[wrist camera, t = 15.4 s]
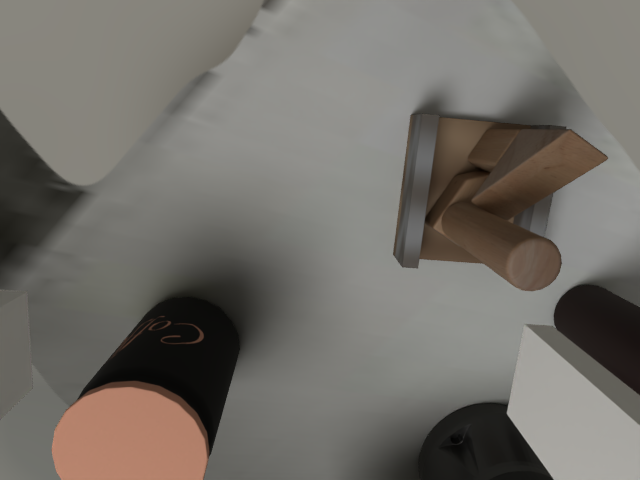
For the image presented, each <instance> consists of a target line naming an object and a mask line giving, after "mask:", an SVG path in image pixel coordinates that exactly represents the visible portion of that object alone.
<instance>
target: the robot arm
mask: <svg viewBox="0 0 640 480" xmlns="http://www.w3.org/2000/svg"><path fill="white" fill-rule="evenodd" d="M32 389H33V378H32V362H31V347H30V332H29V316H28V301H27V291H11V290H0V420H1V418H3V417H4V416H5V415H6V414H7V413H8V412H9V411H10V410H11V409H12V408H13V407H14V406H15V405H16V404H17V403H18V402H19V401H20V400H21V399H22V398H23V397H24V396H25V395H26V394H27V393H28V392H29V391H31V390H32ZM418 467H419V475H420V479H421V480H640V395H639V394H637V393H636V392H635V391H634V390H632V389H631V388H630V387H628V386H627V385H626V384H625V383H623V382H622V381H621V380H620V379H618V378H617V377H616V376H615V375H613V374H612V373H611V372H610V371H608V370H607V369H606V368H604V367H603V366H602V365H601V364H599V363H598V362H597V361H596V360H594V359H593V358H592V357H591V356H589V355H588V354H587V353H586V352H584V351H583V350H582V349H580V348H579V347H578V346H577V345H575V344H574V343H573V342H572V341H570V340H569V339H568V338H567V337H565V336H564V335H563V334H562V333H560V332H559V331H558V330H557V329H555V328H554V327H553V326H546V325H531V324H525V325H524V330H523V335H522V340H521V345H520V350H519V355H518V360H517V365H516V370H515V375H514V380H513V385H512V390H511V394H510V399H509V404H508V406H506V405H501V404H478V405H473V406H469V407H466V408H463V409H461V410H458V411H456V412H454V413H452V414H451V415H449V416H447V417H446V418H445V419H443V420H442V421H441V422H440V423H438V424H437V425H436V426H435V427H434V429H433V430H432V431H431V432H430V434H429V435H428V436H427V438H426V440H425V442H424V444H423V446H422V449H421V452H420V456H419V466H418Z"/></svg>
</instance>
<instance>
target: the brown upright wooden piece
mask: <svg viewBox="0 0 640 480" xmlns="http://www.w3.org/2000/svg"><path fill="white" fill-rule="evenodd" d="M607 159H608V157H607V156H606V155H605V154H603V153H602V152H601V151H599V150H598V149H597V148H595V147H594V146H593V145H591V144H590V143H589V142H587V141H586V140H584V139H583V138H582V137H580V136H579V135H578V134H576V133H575V132H574V131H572V130H571V129H522V130H520V129H488V130H487V131H486V132H485V133H484V135H483V136H482V138H481V139H480V140H479V142H478V143H477V145H476V146H475V148H474V149H473V150H472V152H471V153H470V155H469V156H468V161H469V162H470V163H471V164H473V165H474V166H476V167H477V168H479V169H480V170H478V171H474V172H469V173H465V174H460V175H457V176H455V177H454V178H453V179H452V181H451V182H450V184H449V185H448V186H447V188H446V189H445V191H444V192H443V194H442V195H441V196H440V198H439V199H438V201H437V202H436V204H435V205H434V206H433V208H432V209H431V211H430V212H429V214H428V215H427V216H426V218H425V223H426V224H427V225H428V226H430V227H431V228H432V229H433V230H435V231H436V232H438V233H440V234H441V235H443V236H444V237H446V238H447V239H449V240H450V241H452V242H453V243H455V244H456V245H458V246H461V247H462V248H464V249H465V250H466V251H468V252H469V253H470V254H472V255H473V256H474V257H476V258H477V259H478V260H480V261H481V262H482V263H484V264H485V265H486V266H488V267H489V268H490V269H492V270H493V271H494V272H496V273H497V274H498V275H500V276H501V277H503V278H504V279H505V280H507V281H508V282H509V283H511V284H512V285H513V286H515V287H516V288H519V289H521V290H525V291H535V290H540V289H543V288H545V287H546V286H548V285H550V284H551V283H552V282H553V281H554V280H555V279H556V277H557V276H558V274H559V272H560V268H561V264H562V262H561V254H560V252H559V250H558V248H557V246H556V245H555V244H554V243H553V242H552V241H551V240H549V239H546V238H544V237H542V236H540V235H538V234H535V233H533V232H531V231H529V230H527V229H524V228H522V227H520V226H518V225H516V224H513V223H511V222H509V221H508V220H509V219H511V218H512V217H514V216H516V215H517V214H519V213H521V212H522V211H524V210H526V209H527V208H529V207H531V206H532V205H534V204H535V203H537V202H539V201H540V200H542V199H544V198H545V197H547V196H549V195H550V194H552V193H553V192H555V191H557V190H558V189H560V188H562V187H563V186H565V185H567V184H568V183H570V182H571V181H573V180H575V179H576V178H578V177H580V176H581V175H583V174H585V173H586V172H588V171H589V170H591V169H593V168H594V167H596V166H598V165H599V164H601V163H603V162H604V161H606V160H607Z"/></svg>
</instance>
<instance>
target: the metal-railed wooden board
mask: <svg viewBox="0 0 640 480" xmlns="http://www.w3.org/2000/svg"><path fill="white" fill-rule="evenodd" d="M488 129H520V130H522V129H566V127H563V126H552V125H532V126H531V125H520V124H509V123H498V122H487V121H476V120H465V119H454V118H443V117H439V115H431V114H416V115H411V117H410V125H409V133H408V141H407V149H406V157H405V165H404V173H403V181H402V188H401V196H400V204H399V212H398V220H397V228H396V236H395V244H394V252H393V255H394V256H395V258H396V259H397V261H398V262H399V263H400V265H401V266H402V267H406V268H418V265H419V259H427V260H441V261H455V262H469V263H482V262H481V261H480V260H478V259H477V258H476V257H474V256H473V255H472V254H470V253H469V252H468V251H466V250H465V249H464V248H462V247H461V246H458V245H456V244H455V243H453V242H452V241H450V240H449V239H447V238H446V237H444V236H443V235H441V234H440V233H438V232H436V231H435V230H433V229H432V228H431V227H430V226H428V225H427V224H426V223H425V218H426V216H427V215H428V214H429V212H430V211H431V209H432V208H433V206H434V205H435V204H436V202H437V201H438V199H439V198H440V196H441V195H442V194H443V192H444V191H445V189H446V188H447V186H448V185H449V184H450V182H451V181H452V179H453V178H454V177H455V176H457V175H460V174H465V173H469V172H474V171H478V170H480V169H479V168H477V167H476V166H474V165H473V164H471V163H470V162H469V161H468V156H469V155H470V153H471V152H472V150H473V149H474V148H475V146H476V145H477V143H478V142H479V140H480V139H481V138H482V136H483V135H484V133H485V132H486V131H487V130H488ZM552 196H553V193H552V194H550V195H549V196H547V197H545V198H544V199H542V200H540V201H539V202H537V203H535V204H534V205H532V206H531V207H529V208H527V209H526V210H524V211H522V212H521V213H519V214H517V215H516V216H514V217H512V218H511V219H509V220H508V221H509V222H511V223H513V224H516V225H518V226H520V227H522V228H524V229H527V230H529V231H531V232H533V233H535V234H538V235H540V236H542V237H544V236H545V231H546V226H547V221H548V216H549V211H550V206H551V201H552ZM482 264H484V263H482Z"/></svg>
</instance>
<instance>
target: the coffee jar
mask: <svg viewBox="0 0 640 480" xmlns="http://www.w3.org/2000/svg"><path fill="white" fill-rule="evenodd" d="M239 350H240V348H239V339H238V333H237V331H236V329H235V327H234V325H233V323H232V321H231V319H230V318H229V317H228V316H227V315H226V314H225V313H224V312H223V311H222V310H221V309H220V308H218V307H217V306H215V305H213V304H211V303H210V302H208V301H205V300H201V299H197V298H192V297H184V298H173V299H170V300H167V301H165V302H162V303H160V304H158V305H156V306H155V307H154V308H153V309H152V310H150V311H149V312H148V313H147V314H146V315H145V316H144V317H143V318H142V320H141V321H140V322H139V323H138V324H137V326H136V327H135V328H134V329H133V330H132V332H131V333H130V334H129V335H128V336H127V338H126V339H125V340H124V341H123V342H122V343H121V345H120V346H119V347H118V348H117V349H116V351H115V352H114V353H113V354H112V355H111V357H110V358H109V359H108V360H107V361H106V363H105V364H104V365H103V366H102V367H101V369H100V370H99V371H98V372H97V373H96V375H95V376H94V377H93V378H92V379H91V381H90V382H89V383H88V384H87V385H86V387H85V388H84V389H83V391H82V392H81V394H80V396H79V398H78V399H77V401H76V402H74V403H73V404H72V405H71V406H70V407H69V408H68V409H67V410H66V411H65V413H64V415H63V416H62V418H61V420H60V421H59V423H58V425H57V426H56V428H55V432H54V439H53V445H52V454H53V459H54V463H55V468H56V472H57V473H58V475H59V476H60V478H61V479H62V480H203V479H204V475H205V471H206V467H207V463H208V459H209V456H210V454H211V452H212V448H213V444H214V441H215V437H216V434H217V430H218V427H219V423H220V419H221V416H222V412H223V409H224V405H225V401H226V398H227V394H228V391H229V387H230V384H231V380H232V376H233V373H234V369H235V366H236V362H237V358H238V354H239Z"/></svg>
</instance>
